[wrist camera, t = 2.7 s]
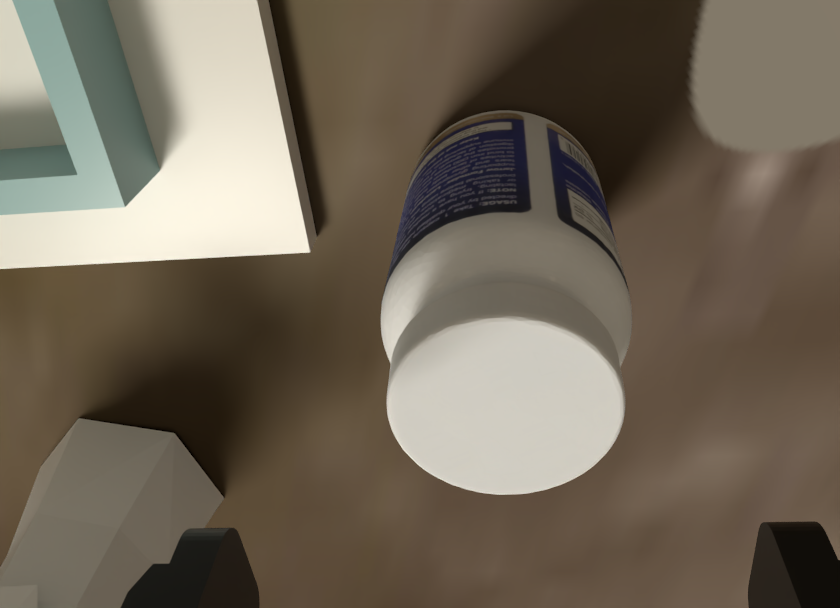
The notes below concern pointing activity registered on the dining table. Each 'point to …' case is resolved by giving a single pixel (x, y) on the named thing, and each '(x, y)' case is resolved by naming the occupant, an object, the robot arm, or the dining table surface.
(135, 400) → the dining table surface
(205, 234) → the socket holder
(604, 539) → the dining table surface
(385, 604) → the dining table surface
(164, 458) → the figurine
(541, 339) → the pill bottle
